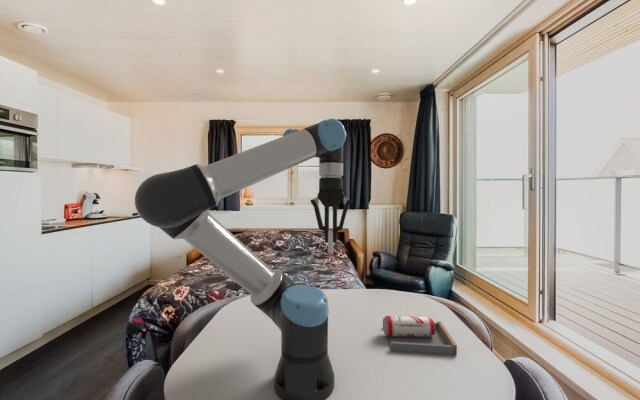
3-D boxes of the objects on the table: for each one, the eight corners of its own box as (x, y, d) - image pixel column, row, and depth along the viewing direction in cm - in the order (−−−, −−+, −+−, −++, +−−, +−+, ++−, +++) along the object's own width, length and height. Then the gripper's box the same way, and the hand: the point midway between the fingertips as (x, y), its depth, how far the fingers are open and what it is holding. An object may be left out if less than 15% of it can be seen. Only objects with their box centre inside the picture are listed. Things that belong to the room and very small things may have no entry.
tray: (456, 355, 86) (456, 345, 86) (391, 350, 88) (391, 341, 88) (440, 329, 102) (440, 321, 102) (385, 326, 104) (385, 318, 104)
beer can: (382, 332, 99) (429, 333, 99) (386, 339, 93) (436, 339, 93) (382, 313, 100) (428, 314, 100) (386, 318, 94) (435, 319, 94)
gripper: (352, 178, 94) (351, 250, 94) (312, 177, 95) (311, 249, 96) (352, 176, 86) (351, 255, 87) (308, 176, 88) (308, 254, 88)
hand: (330, 252), depth 91 cm, fingers closed
